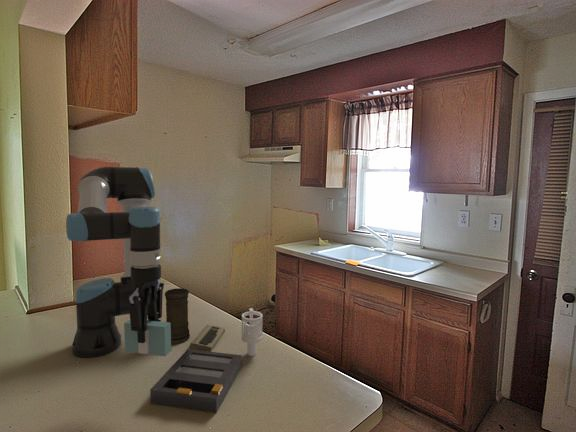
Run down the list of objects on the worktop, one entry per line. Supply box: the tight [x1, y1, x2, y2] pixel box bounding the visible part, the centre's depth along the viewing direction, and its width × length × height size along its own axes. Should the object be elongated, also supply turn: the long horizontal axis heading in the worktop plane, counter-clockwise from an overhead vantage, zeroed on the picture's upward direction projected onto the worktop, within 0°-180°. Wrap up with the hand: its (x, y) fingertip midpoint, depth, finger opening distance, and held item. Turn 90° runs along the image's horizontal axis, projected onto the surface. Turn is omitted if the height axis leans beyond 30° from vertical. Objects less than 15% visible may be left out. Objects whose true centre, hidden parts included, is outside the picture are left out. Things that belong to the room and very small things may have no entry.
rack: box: [149, 348, 243, 414], centre depth 102 cm, size 18×22×5 cm
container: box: [164, 288, 191, 345], centre depth 129 cm, size 9×9×18 cm
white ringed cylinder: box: [241, 307, 264, 357], centre depth 120 cm, size 7×7×15 cm
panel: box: [123, 319, 172, 357], centre depth 94 cm, size 12×3×8 cm, turn 78°
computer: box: [189, 324, 226, 352], centre depth 129 cm, size 16×8×3 cm, turn 172°
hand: (148, 349), depth 95 cm, fingers closed on panel, 3 cm apart
